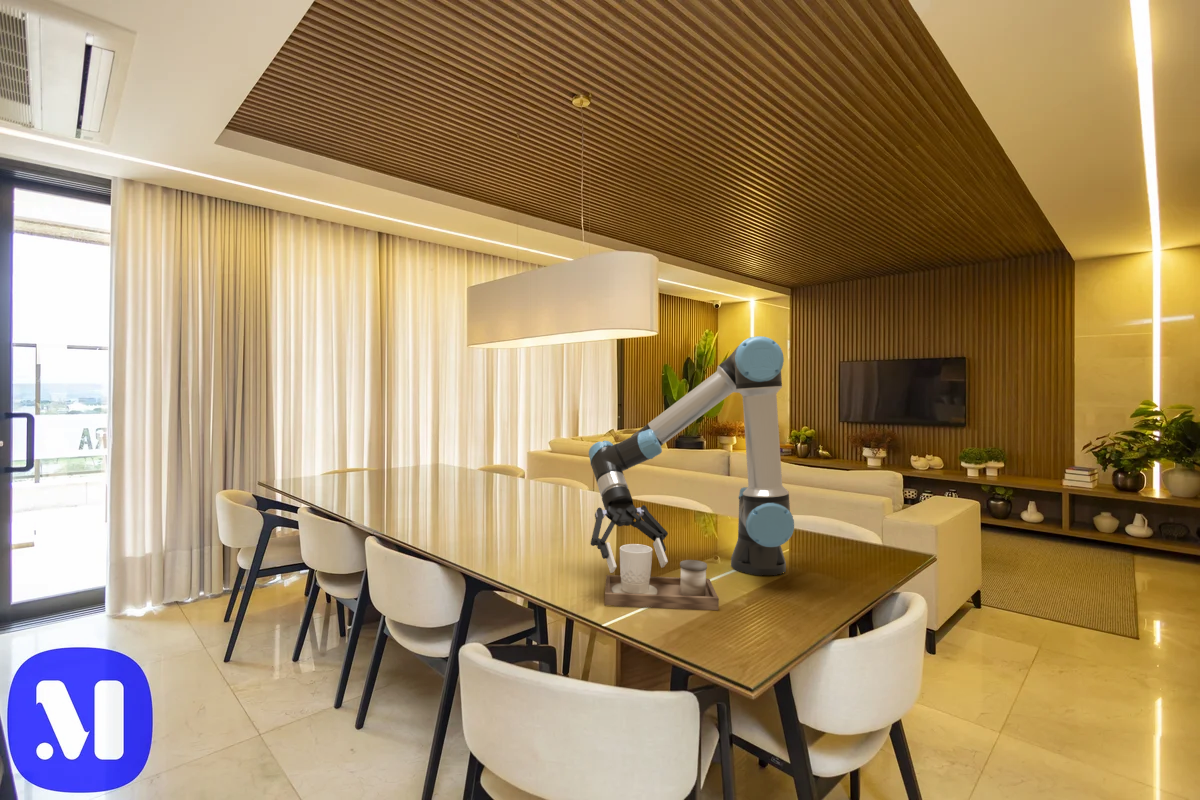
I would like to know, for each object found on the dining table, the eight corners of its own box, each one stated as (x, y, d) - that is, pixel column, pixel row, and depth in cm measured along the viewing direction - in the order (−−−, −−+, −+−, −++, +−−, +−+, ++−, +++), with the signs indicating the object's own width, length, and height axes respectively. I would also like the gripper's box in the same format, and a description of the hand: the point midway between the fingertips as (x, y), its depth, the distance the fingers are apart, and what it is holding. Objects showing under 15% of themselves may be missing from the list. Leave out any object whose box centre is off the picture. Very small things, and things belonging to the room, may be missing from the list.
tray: (708, 589, 145) (709, 556, 145) (718, 610, 131) (719, 573, 131) (606, 585, 146) (607, 552, 146) (604, 605, 132) (605, 569, 132)
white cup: (649, 596, 134) (650, 553, 134) (616, 593, 136) (617, 551, 136) (652, 585, 142) (654, 545, 142) (621, 582, 143) (622, 542, 143)
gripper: (652, 499, 157) (678, 570, 144) (566, 504, 148) (586, 580, 134) (662, 483, 153) (690, 554, 139) (574, 486, 143) (595, 563, 129)
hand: (639, 567), depth 136 cm, fingers open, 13 cm apart
